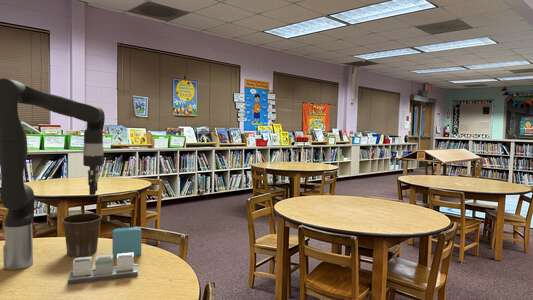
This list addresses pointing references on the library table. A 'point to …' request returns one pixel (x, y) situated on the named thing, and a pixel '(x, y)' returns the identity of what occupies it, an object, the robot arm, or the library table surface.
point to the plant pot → (81, 234)
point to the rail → (122, 270)
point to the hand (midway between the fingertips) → (93, 192)
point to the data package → (126, 241)
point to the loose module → (104, 264)
